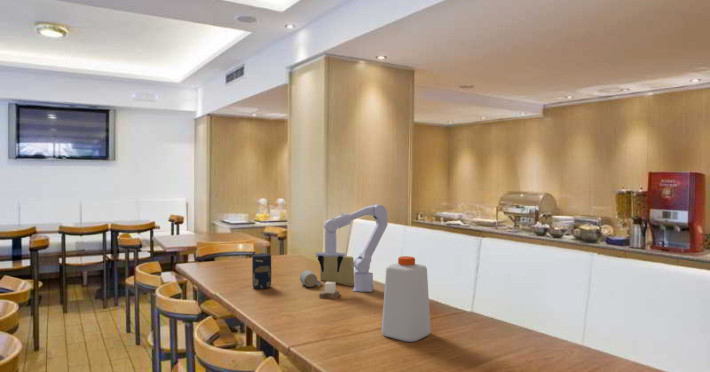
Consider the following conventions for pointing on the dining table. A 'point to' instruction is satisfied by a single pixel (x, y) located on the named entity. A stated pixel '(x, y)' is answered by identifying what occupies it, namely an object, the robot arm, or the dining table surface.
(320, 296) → the walnut base
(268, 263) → the canister
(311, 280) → the ceramic mug
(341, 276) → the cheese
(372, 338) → the dining table surface
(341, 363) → the dining table surface
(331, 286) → the cream cube
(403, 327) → the plastic bottle
